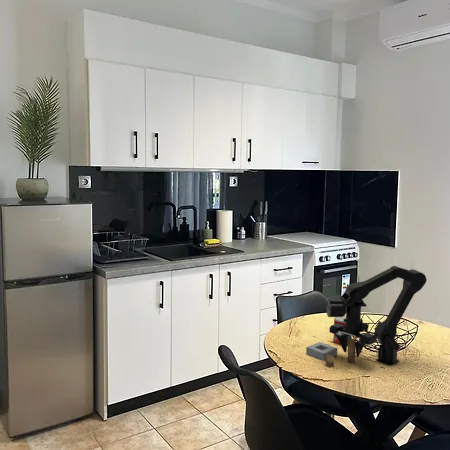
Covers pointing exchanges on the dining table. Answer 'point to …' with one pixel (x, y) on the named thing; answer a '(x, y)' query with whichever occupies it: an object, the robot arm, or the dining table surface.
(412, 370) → the dining table surface
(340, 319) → the canned food
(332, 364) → the short pin
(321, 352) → the socket block
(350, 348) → the long pin
